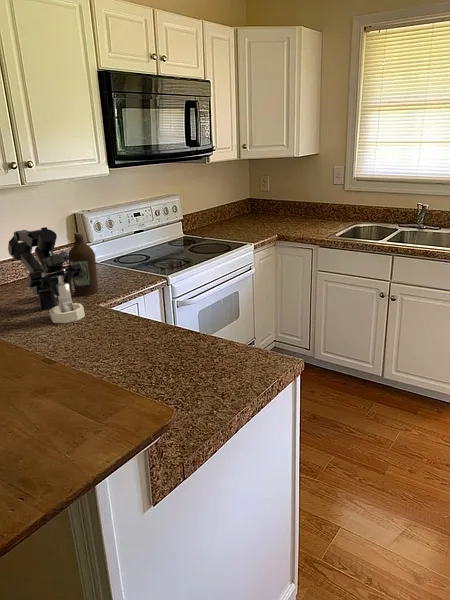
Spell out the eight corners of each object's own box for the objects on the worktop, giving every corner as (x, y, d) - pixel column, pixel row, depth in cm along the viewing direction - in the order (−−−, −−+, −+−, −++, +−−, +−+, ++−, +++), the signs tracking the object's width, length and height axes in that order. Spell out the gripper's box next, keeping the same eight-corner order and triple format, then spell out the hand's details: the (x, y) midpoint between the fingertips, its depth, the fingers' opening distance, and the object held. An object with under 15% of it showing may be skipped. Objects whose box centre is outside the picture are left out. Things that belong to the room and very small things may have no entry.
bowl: (49, 316, 173) (47, 307, 172) (80, 310, 178) (78, 301, 177) (54, 325, 164) (53, 315, 163) (86, 318, 169) (85, 309, 168)
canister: (58, 311, 170) (53, 284, 167) (69, 308, 174) (64, 281, 170) (64, 314, 168) (60, 286, 164) (75, 310, 171) (71, 283, 167)
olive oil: (79, 289, 206) (70, 231, 198) (103, 288, 205) (95, 230, 197) (70, 296, 196) (60, 236, 188) (95, 295, 195) (86, 235, 187)
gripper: (23, 250, 161) (42, 287, 156) (76, 240, 172) (94, 275, 168) (20, 269, 169) (37, 305, 165) (70, 259, 180) (87, 292, 176)
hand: (64, 294), depth 168 cm, fingers closed on canister, 4 cm apart
